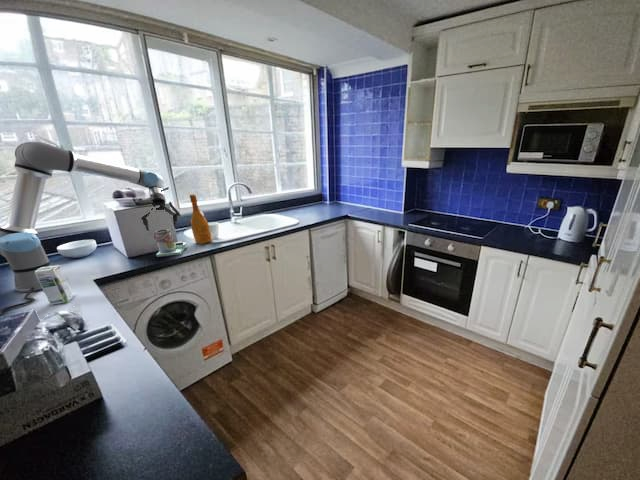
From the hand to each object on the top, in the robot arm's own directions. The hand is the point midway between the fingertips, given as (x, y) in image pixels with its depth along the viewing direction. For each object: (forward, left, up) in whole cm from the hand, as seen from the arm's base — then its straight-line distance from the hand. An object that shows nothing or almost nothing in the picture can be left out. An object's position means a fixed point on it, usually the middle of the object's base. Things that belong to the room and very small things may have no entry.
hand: (161, 227), depth 167 cm
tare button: (+3, -6, -12) cm, 13 cm away
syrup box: (-53, +25, -15) cm, 61 cm away
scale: (-1, -2, -14) cm, 15 cm away
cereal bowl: (+11, +48, -15) cm, 51 cm away
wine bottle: (+13, -17, -15) cm, 26 cm away
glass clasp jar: (-4, -1, -13) cm, 14 cm away
